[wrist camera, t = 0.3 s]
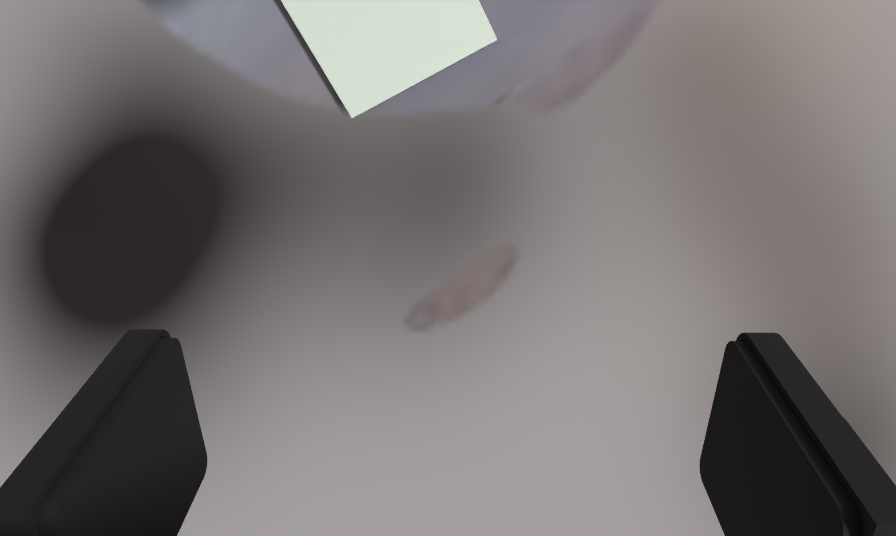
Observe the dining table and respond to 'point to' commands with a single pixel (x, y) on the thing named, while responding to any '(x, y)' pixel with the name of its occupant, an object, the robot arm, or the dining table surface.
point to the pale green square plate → (387, 42)
